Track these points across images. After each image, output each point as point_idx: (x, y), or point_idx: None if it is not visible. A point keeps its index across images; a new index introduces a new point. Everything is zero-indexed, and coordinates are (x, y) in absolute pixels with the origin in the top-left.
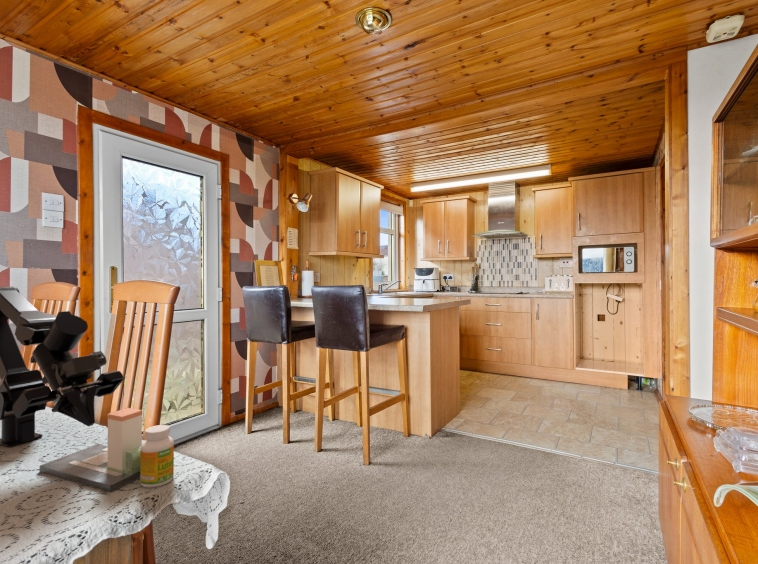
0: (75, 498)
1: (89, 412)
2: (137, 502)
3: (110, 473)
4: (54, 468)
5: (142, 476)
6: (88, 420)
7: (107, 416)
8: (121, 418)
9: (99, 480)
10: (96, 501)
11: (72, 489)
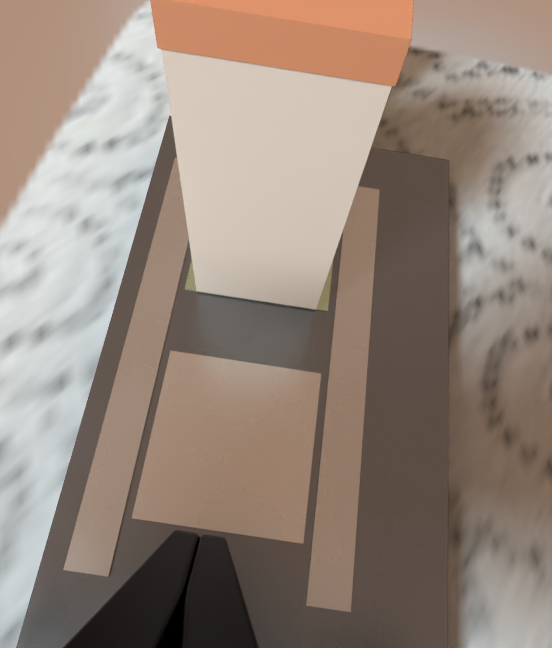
0: (524, 269)
1: (156, 645)
2: (447, 58)
3: (370, 235)
4: (435, 625)
5: None
6: (233, 568)
7: (400, 65)
8: None
9: (434, 234)
10: (502, 179)
11: (483, 349)
